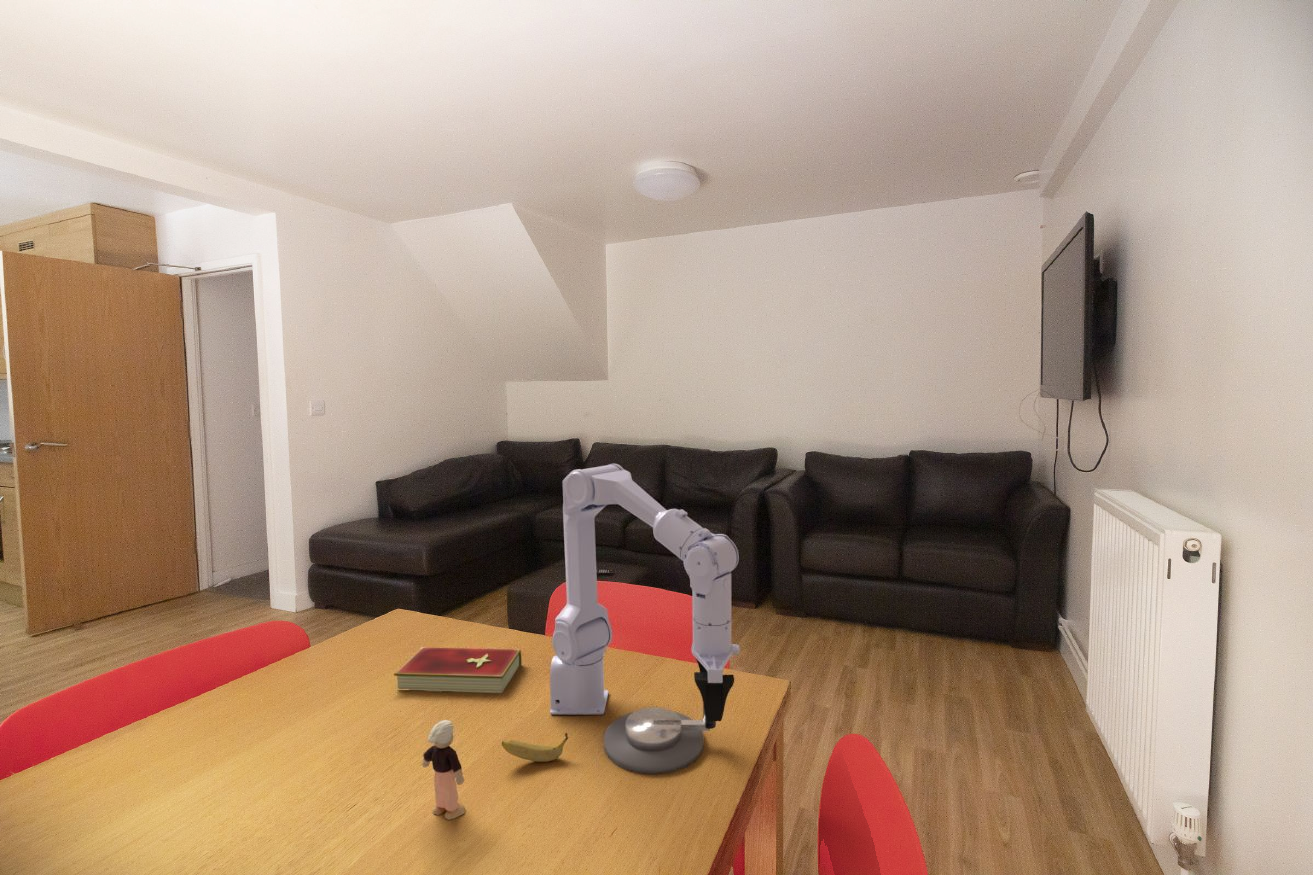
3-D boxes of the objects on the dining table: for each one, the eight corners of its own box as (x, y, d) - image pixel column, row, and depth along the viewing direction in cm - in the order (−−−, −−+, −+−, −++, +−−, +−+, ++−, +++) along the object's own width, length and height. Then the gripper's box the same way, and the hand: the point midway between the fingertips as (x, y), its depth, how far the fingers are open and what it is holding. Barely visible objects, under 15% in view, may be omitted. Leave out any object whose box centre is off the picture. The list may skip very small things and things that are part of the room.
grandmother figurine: (478, 805, 87) (474, 718, 86) (461, 824, 84) (456, 734, 82) (432, 794, 90) (427, 709, 88) (413, 812, 86) (408, 724, 85)
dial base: (598, 773, 94) (598, 764, 94) (609, 715, 110) (609, 708, 110) (705, 774, 93) (705, 765, 93) (701, 716, 109) (701, 708, 109)
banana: (501, 769, 95) (501, 744, 95) (503, 759, 98) (502, 735, 97) (569, 762, 97) (568, 737, 96) (568, 753, 99) (568, 729, 99)
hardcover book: (423, 664, 132) (422, 645, 131) (521, 666, 130) (521, 647, 129) (395, 693, 120) (393, 672, 119) (503, 696, 118) (502, 674, 118)
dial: (623, 750, 97) (622, 710, 97) (627, 718, 106) (627, 681, 105) (717, 750, 97) (717, 710, 96) (714, 718, 106) (714, 681, 105)
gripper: (744, 638, 86) (744, 733, 87) (734, 600, 100) (734, 682, 102) (692, 638, 86) (693, 733, 87) (689, 601, 101) (690, 682, 102)
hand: (712, 705), depth 95 cm, fingers open, 7 cm apart
